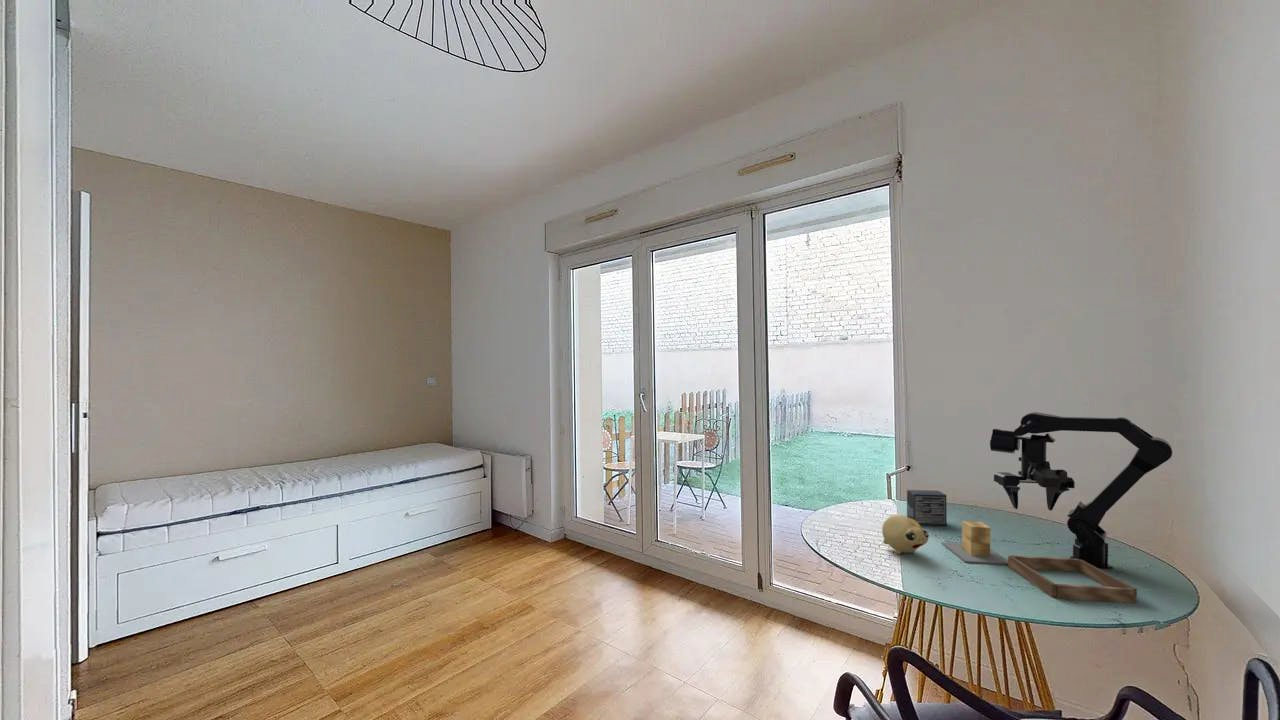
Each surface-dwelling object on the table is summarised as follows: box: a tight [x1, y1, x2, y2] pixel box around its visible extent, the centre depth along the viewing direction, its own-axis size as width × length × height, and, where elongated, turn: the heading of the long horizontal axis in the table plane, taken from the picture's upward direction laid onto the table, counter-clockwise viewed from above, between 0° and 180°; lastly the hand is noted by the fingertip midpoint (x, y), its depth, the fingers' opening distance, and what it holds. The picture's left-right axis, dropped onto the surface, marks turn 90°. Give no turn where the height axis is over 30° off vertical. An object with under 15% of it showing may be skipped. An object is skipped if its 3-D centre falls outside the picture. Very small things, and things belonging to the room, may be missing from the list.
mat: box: [940, 541, 1008, 566], centre depth 145 cm, size 12×14×1 cm
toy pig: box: [881, 513, 930, 555], centre depth 146 cm, size 10×12×11 cm
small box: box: [906, 489, 948, 527], centre depth 172 cm, size 11×6×10 cm, turn 84°
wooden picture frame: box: [1007, 554, 1138, 604], centre depth 127 cm, size 18×18×3 cm
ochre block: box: [961, 520, 991, 556], centre depth 145 cm, size 5×5×8 cm
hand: (1032, 509), depth 148 cm, fingers open, 9 cm apart
